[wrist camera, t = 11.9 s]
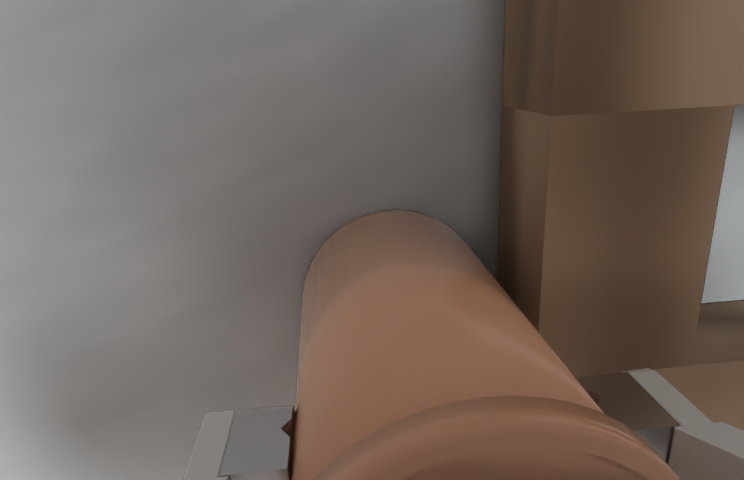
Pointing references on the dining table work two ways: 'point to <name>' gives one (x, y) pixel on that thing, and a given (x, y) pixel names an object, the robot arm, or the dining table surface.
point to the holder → (622, 186)
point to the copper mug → (438, 371)
